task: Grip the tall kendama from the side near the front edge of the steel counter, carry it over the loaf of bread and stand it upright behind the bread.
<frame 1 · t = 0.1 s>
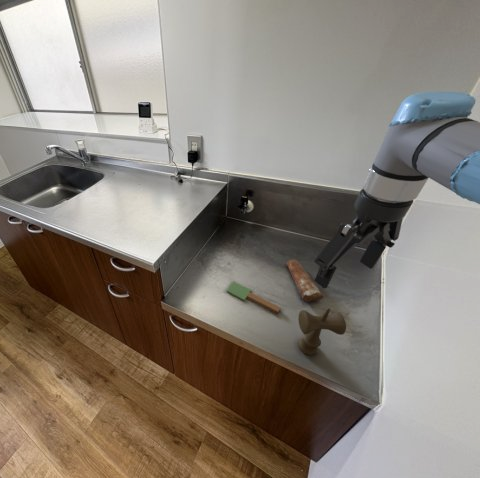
hand: (343, 274, 57), 29 cm above the worktop, tool pointing down, fingers open, 13 cm apart
spatula: (253, 298, 88), on the worktop
bread: (298, 283, 91), on the worktop
kendama: (307, 348, 74), on the worktop
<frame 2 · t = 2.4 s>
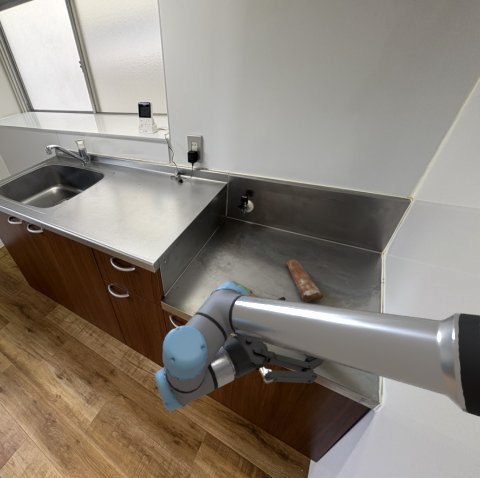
hand: (304, 323, 58), 21 cm above the worktop, tool horizontal, fingers open, 13 cm apart
nothing on the worktop moved.
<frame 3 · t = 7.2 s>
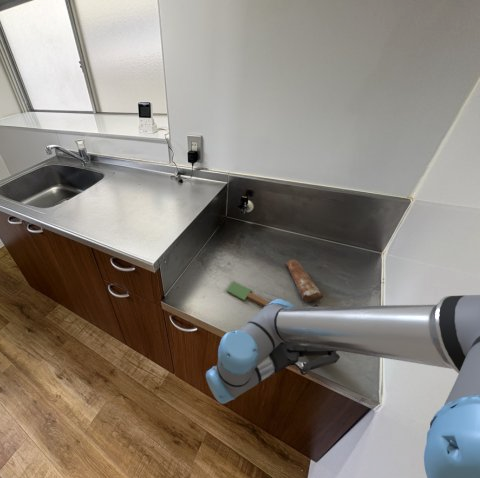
hand: (331, 320, 68), 11 cm above the worktop, tool horizontal, fingers closed on kendama, 9 cm apart
kendama: (306, 348, 73), on the worktop, touching gripper
everything else where it was.
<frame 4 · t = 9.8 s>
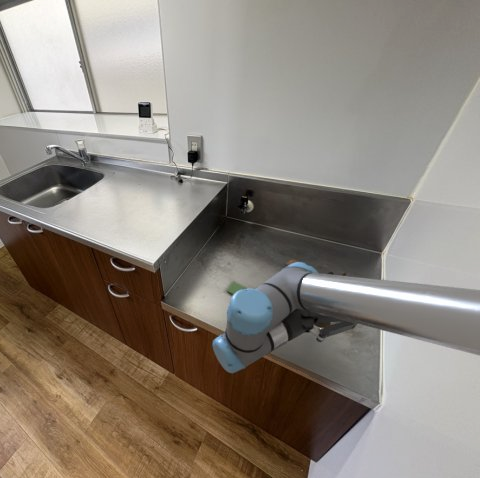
hand: (347, 287, 62), 22 cm above the worktop, tool horizontal, fingers closed on kendama, 8 cm apart
kendama: (318, 321, 69), point 10 cm above the worktop, touching gripper
everything else where it was.
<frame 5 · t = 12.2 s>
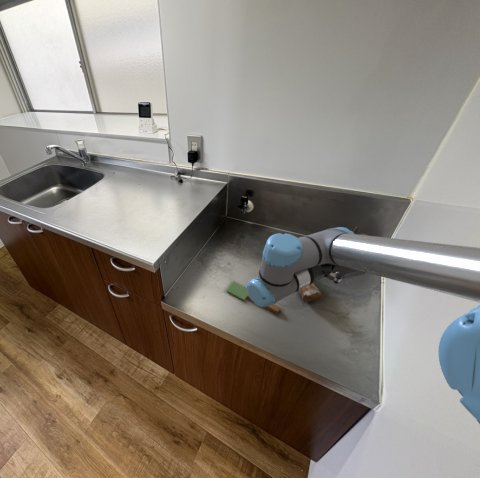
hand: (358, 243, 73), 22 cm above the worktop, tool horizontal, fingers closed on kendama, 8 cm apart
kendama: (332, 276, 80), point 10 cm above the worktop, touching gripper
everything else where it was.
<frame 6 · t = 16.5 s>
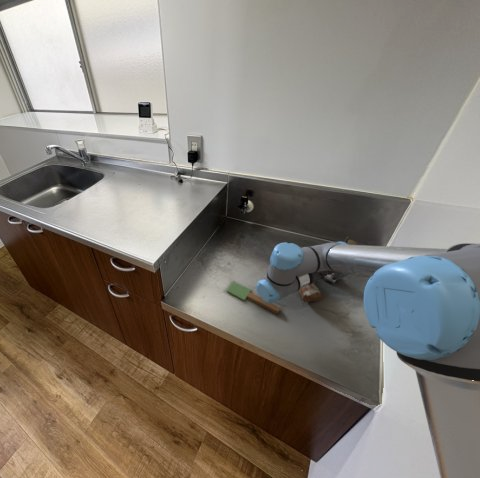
hand: (352, 249, 86), 12 cm above the worktop, tool horizontal, fingers closed on kendama, 6 cm apart
kendama: (328, 278, 92), on the worktop, touching gripper
everything else where it was.
when the fingers open (12 cm above the worktop, at t = 16.6 s): kendama stays where it is, on the worktop.
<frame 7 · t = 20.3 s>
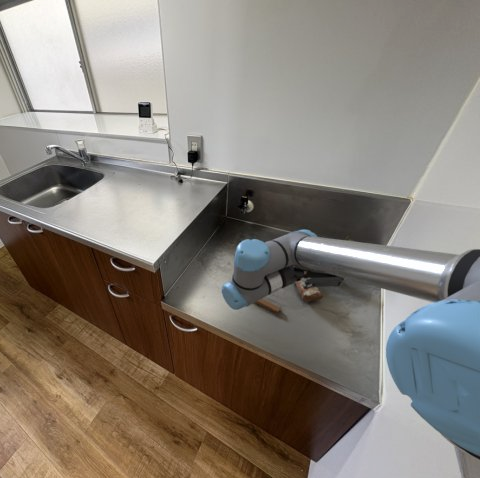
hand: (329, 250, 75), 20 cm above the worktop, tool horizontal, fingers open, 13 cm apart
kendama: (328, 278, 92), on the worktop
everything else where it was.
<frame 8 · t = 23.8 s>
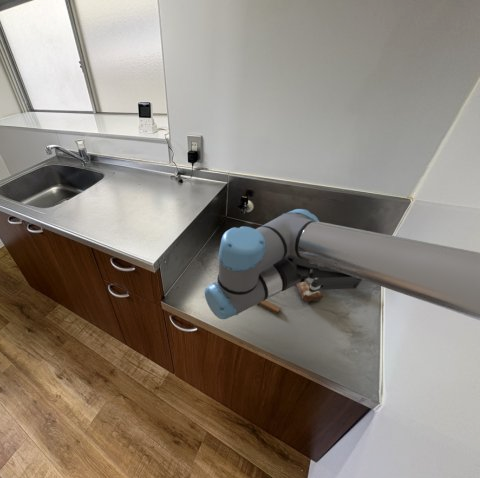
hand: (340, 243, 60), 32 cm above the worktop, tool horizontal, fingers open, 13 cm apart
nothing on the worktop moved.
at the end: kendama inside the target area on the worktop beside the bread (3.4 cm from its centre), on the worktop; kendama tilted 0°; the gripper is holding nothing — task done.
